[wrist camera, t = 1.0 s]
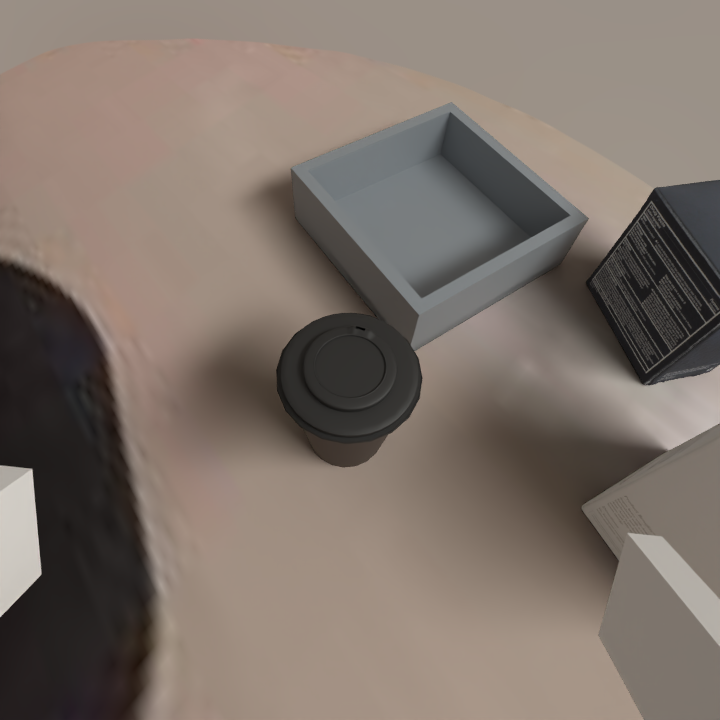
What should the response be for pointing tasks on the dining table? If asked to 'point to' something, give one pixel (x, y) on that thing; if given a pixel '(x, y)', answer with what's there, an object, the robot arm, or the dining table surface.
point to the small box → (666, 284)
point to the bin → (432, 221)
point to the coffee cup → (348, 384)
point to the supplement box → (670, 505)
